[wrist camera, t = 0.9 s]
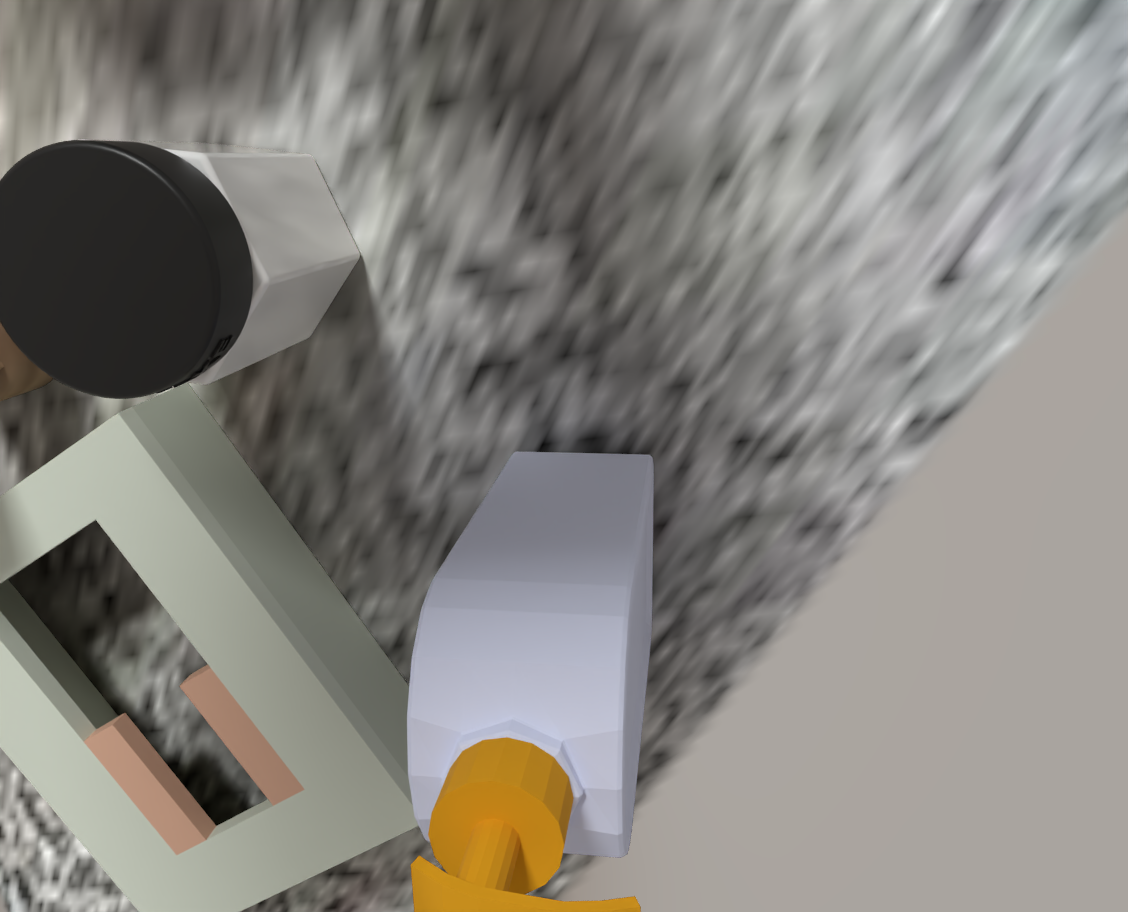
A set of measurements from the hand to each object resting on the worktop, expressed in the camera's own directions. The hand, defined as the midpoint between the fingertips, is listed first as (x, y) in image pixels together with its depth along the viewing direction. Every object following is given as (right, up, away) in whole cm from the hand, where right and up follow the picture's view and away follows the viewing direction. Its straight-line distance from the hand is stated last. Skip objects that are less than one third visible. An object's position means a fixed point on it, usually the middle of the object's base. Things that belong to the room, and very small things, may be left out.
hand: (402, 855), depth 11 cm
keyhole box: (-16, -5, +36) cm, 40 cm away
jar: (-11, +14, +30) cm, 35 cm away
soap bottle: (+3, +1, +32) cm, 32 cm away
